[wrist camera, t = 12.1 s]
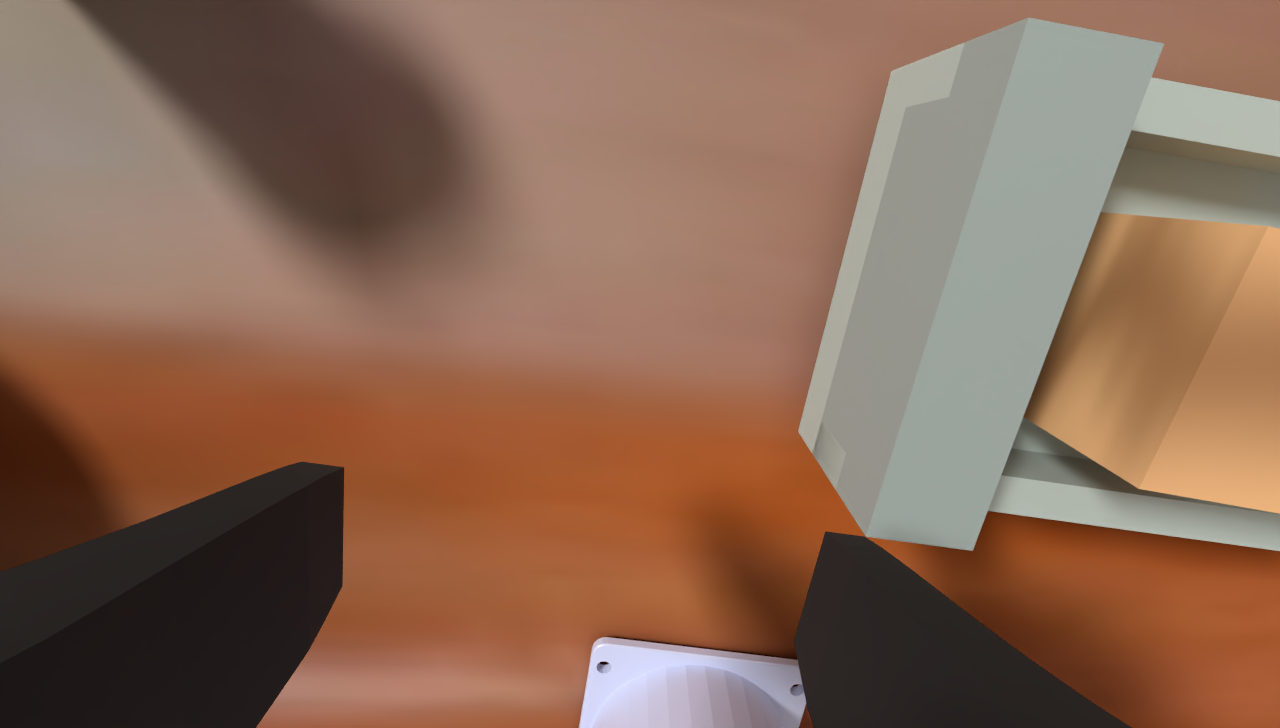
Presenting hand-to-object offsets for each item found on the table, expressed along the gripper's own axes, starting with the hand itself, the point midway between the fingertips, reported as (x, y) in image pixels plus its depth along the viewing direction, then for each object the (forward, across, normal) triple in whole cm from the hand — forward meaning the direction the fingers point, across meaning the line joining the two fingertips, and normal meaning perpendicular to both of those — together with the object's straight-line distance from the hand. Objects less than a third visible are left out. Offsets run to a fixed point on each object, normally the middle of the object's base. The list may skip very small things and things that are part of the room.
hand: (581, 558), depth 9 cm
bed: (+10, -13, -4) cm, 17 cm away
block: (+7, -13, -4) cm, 15 cm away
